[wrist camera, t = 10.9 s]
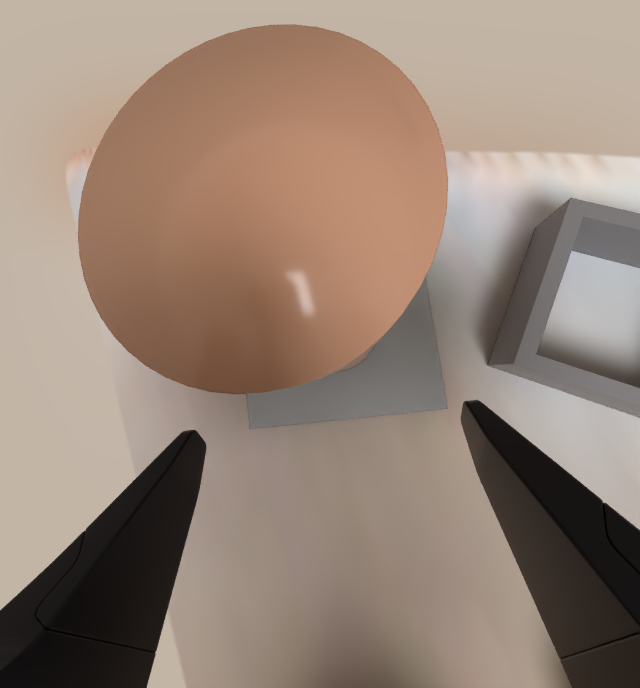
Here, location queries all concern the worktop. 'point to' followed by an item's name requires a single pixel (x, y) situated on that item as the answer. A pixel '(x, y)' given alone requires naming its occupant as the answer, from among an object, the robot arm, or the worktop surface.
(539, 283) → the holder
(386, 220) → the peach rounded cylinder
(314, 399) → the mat
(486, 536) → the worktop surface
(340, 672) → the worktop surface
